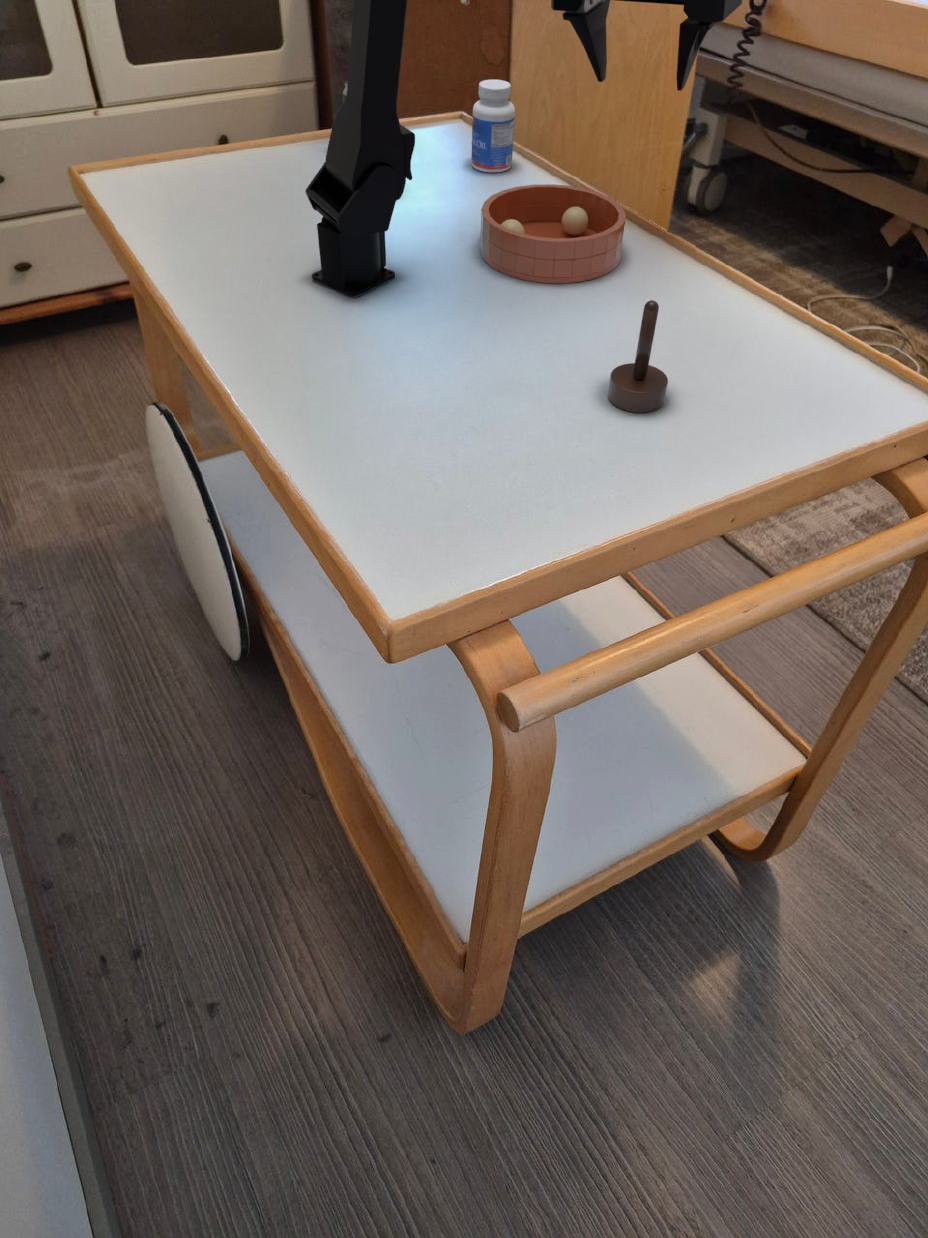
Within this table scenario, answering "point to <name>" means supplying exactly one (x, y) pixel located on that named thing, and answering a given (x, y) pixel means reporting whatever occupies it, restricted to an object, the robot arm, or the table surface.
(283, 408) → the table surface
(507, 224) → the dumpling
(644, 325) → the brown peg stand
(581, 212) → the dumpling
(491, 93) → the pill bottle
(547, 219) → the bowl
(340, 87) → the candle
